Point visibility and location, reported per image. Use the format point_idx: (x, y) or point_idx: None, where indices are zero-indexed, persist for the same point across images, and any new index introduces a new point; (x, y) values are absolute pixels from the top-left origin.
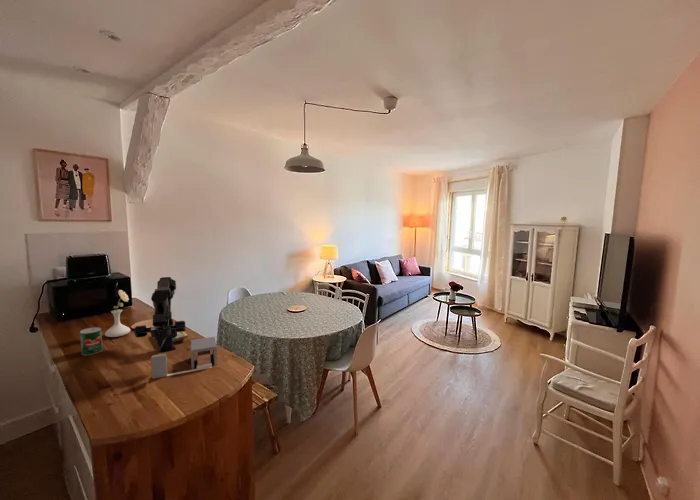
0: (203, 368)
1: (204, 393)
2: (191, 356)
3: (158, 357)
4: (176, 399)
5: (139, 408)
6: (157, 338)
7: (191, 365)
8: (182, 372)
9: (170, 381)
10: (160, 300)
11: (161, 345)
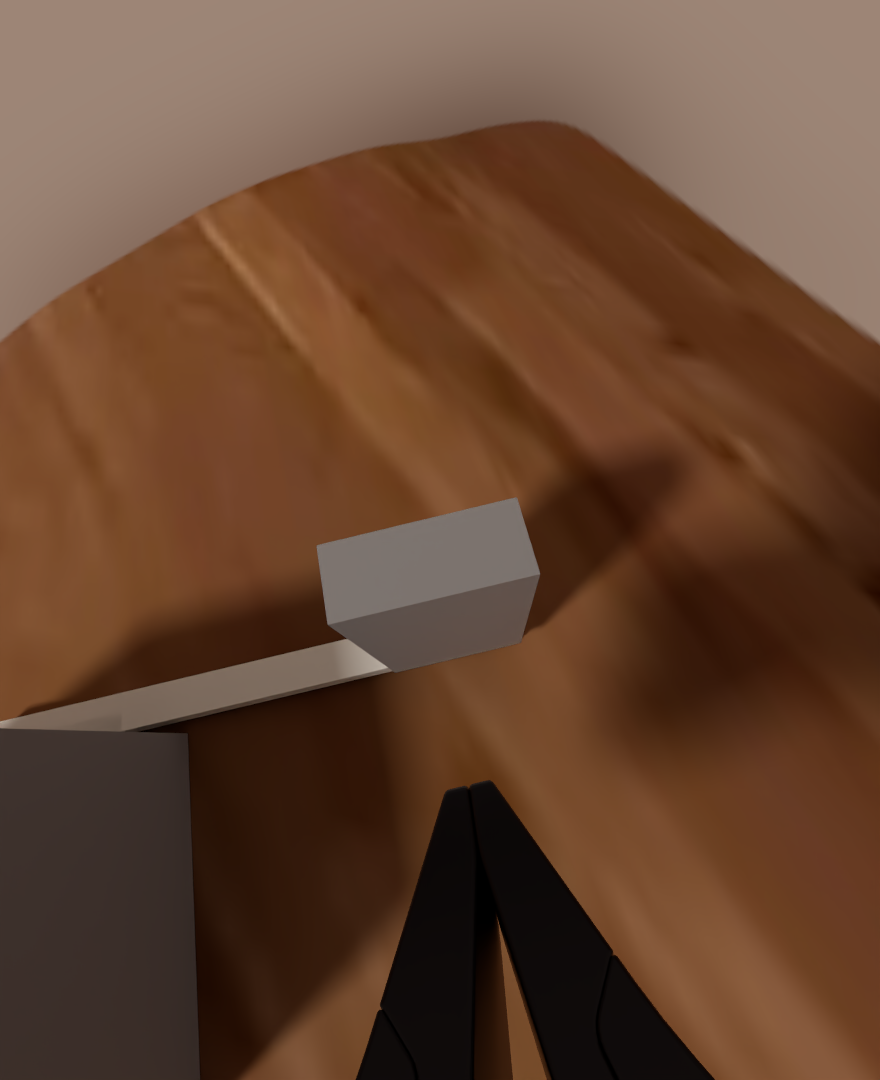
0: (58, 722)
1: (94, 378)
2: (52, 731)
3: (421, 523)
4: (258, 340)
5: (455, 284)
6: (598, 996)
7: (143, 733)
8: (252, 674)
9: None
10: None
11: (441, 809)
